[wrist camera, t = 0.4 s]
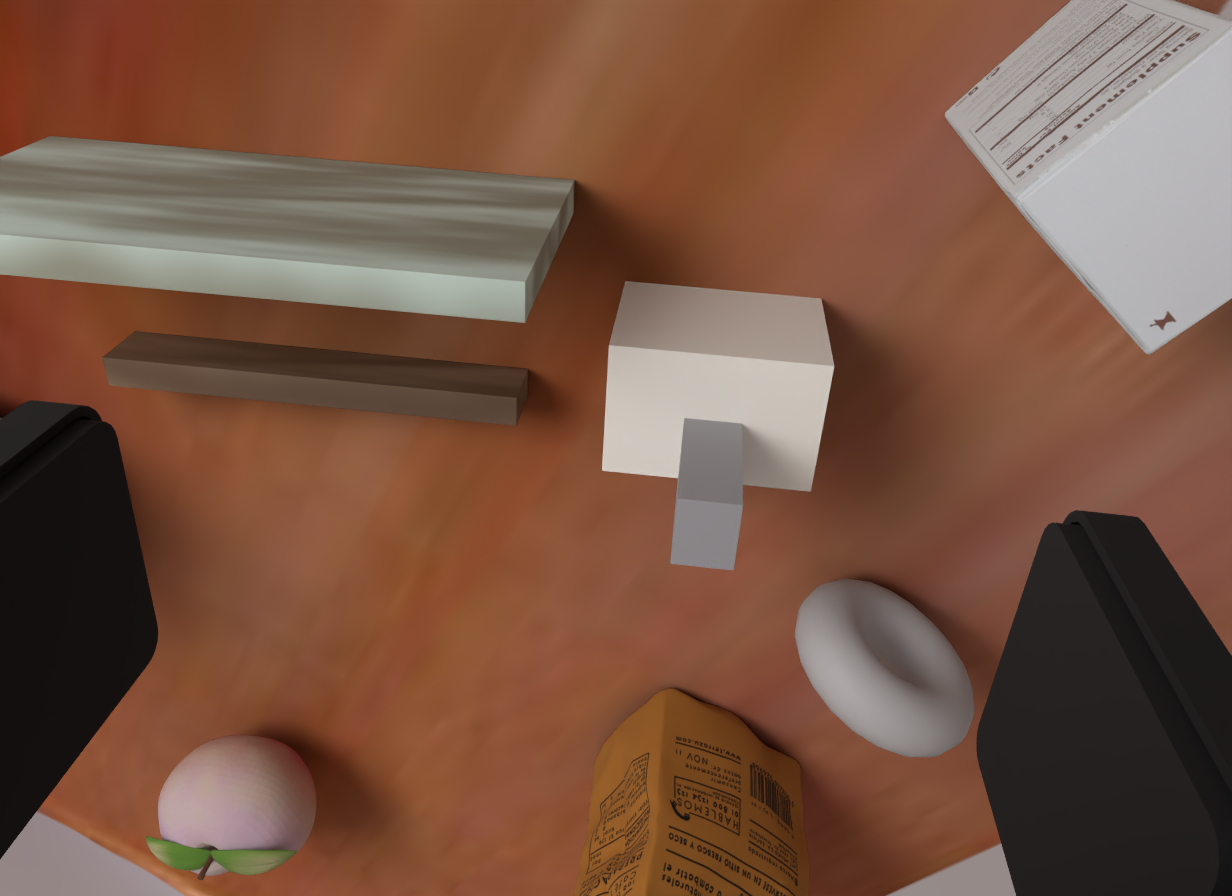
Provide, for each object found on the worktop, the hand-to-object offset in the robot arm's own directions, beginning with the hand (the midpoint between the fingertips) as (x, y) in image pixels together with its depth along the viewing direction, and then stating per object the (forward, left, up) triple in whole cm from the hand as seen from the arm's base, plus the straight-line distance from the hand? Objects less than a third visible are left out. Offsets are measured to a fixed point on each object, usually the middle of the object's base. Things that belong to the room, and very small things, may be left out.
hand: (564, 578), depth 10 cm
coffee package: (+42, +4, -35) cm, 55 cm away
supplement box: (+2, +15, -35) cm, 38 cm away
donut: (+28, +12, -35) cm, 47 cm away
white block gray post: (+14, +2, -35) cm, 38 cm away
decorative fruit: (+45, -24, -35) cm, 62 cm away
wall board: (+12, -17, -35) cm, 40 cm away
